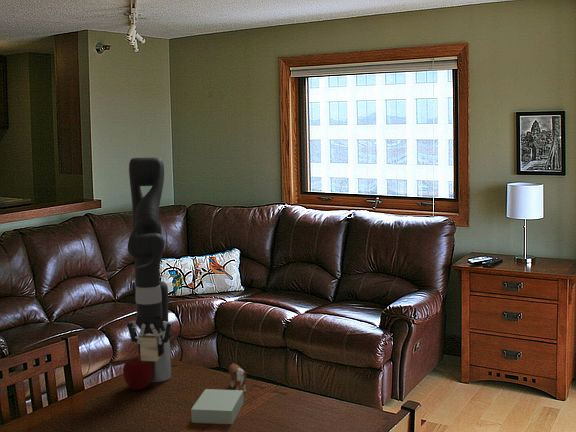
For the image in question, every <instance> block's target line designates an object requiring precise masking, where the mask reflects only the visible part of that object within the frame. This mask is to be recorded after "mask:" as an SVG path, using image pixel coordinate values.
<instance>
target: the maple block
mask: <svg viewBox="0 0 576 432" xmlns="http://www.w3.org/2000/svg"><path fill="white" fill-rule="evenodd" d="M140 353H141V356H140V358H141V361H158V360H159V359H160V358H161V357H162V356H158V339H157V337H156V338H155V336H154V334H150V333H149V334H145V335H144V336H143V337H140Z"/></svg>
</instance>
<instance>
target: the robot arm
mask: <svg viewBox="0 0 576 432" xmlns="http://www.w3.org/2000/svg"><path fill="white" fill-rule="evenodd" d="M164 164H165V163H164V161H163V160H162V158H160V157H132V158H131V159H130V160H129V163H128V177H129V178H128V179H129V185H130V194H131V196H130V197H131V204H132V205H131V206H132V207H131V209H132V232H131V234H130V236H129V239H128V242H127V251H128V254H129V255H130V256H131V257H132V258H134V266H135V267H134V268H135V269H134V298H135V300H134V301H135V308H136V310H135V311H136V312H135V313H136V320H130V321H129V322H127V323H126V327H127V329H128V332H129V333H128V334H129V337H130V340H131V342H132V343H136V344H137V349H138V354H139V355H140V357H141V353H140V337H143V336H144V335H145V334H149V333H150V334H154V336H155V338H156V337H157V339H158V356H162V357H161V358H160V359H159V360H158V361H150V362H151V364H152V367H153V374H152V378H151V381H150V383H160V382H166V381H168V380H170V379H171V378H172V369H171V367H172V366H171V365H172V364H171V363H172V362H171V346H170V344H171V342H170V340H171V335H172V331H173V327H174V326H173V325H174V323H173V321H169V288H168V285H167V283H166V282H165V281H161V278H160V277H161V276H160V275H161V274H160V273H161V272H160V270H161V263H162V262H161V261H162V256H163V254H164V253H163V252H164V249H165V239H164V237H163V236H162V224H161V222H160V220H159V219H160V214H159V213H160V204H161V199H162V195H163V190H164V189H163V188H164V182H165V181H164V180H165V165H164ZM141 187H151V188H150V189H149V190H148V191H147V193H145V195H143V192H142V189H141ZM137 327H138V328H139V334H138V333H137V330H136V328H137Z"/></svg>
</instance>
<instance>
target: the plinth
mask: <svg viewBox="0 0 576 432" xmlns="http://www.w3.org/2000/svg"><path fill="white" fill-rule="evenodd" d="M244 401H245V400H244V392H243V390H242V389H240V390H239V389H238V390H236V389H217V388H216V389H212V388H211V389H210V388H206V389H204V391H203V392H202V393H201V395H200V396H199V398H198V399H197V400H196V402H194V404H193V406H192V407H191V409H190V411H191V412H190V413H191V415H190V416H191V423H193V424H196V423H197V424H218V425H221V424H222V425H223V424H224V425H233V423H234V422H235V420H236V418H237V416H238V414H239V413H240V411H241V409H242V407H243V405H244V403H245V402H244Z"/></svg>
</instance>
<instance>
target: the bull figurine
mask: <svg viewBox="0 0 576 432" xmlns="http://www.w3.org/2000/svg"><path fill="white" fill-rule="evenodd" d="M228 374H229V379H230V381H231V384H230V387H231V388H234V387H235V386H236V388H235V390H239V386H242V387H243V388H242V389H243V393H247V389H246V381H247V374H248V372H247V371H245V370H244V369H243V368H242V367H240V366H239V365H238V364H236V363H233V362H232V364H230V366H229V367H228ZM234 383H235V385H234Z"/></svg>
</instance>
